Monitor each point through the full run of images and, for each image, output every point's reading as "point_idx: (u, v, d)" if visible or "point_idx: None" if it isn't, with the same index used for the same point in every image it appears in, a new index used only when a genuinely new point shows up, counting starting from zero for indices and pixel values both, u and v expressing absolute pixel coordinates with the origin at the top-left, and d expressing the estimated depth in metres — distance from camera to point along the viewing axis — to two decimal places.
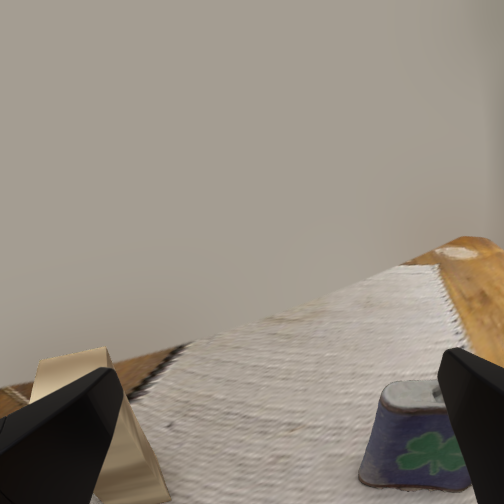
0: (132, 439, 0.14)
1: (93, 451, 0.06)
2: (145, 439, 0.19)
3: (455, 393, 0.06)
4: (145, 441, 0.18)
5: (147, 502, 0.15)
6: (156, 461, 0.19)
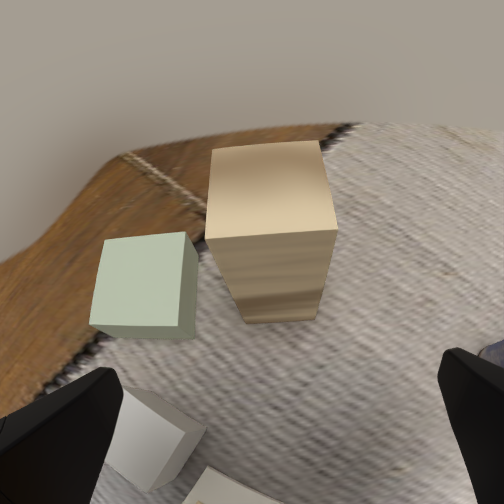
0: (327, 271, 0.14)
1: (93, 451, 0.06)
2: None
3: (455, 393, 0.06)
4: None
5: (290, 319, 0.21)
6: None
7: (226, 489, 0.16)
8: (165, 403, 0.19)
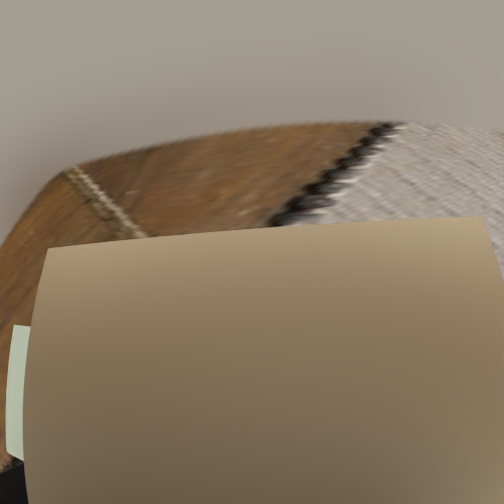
0: None
1: None
2: None
3: None
4: None
5: None
6: None
7: None
8: None
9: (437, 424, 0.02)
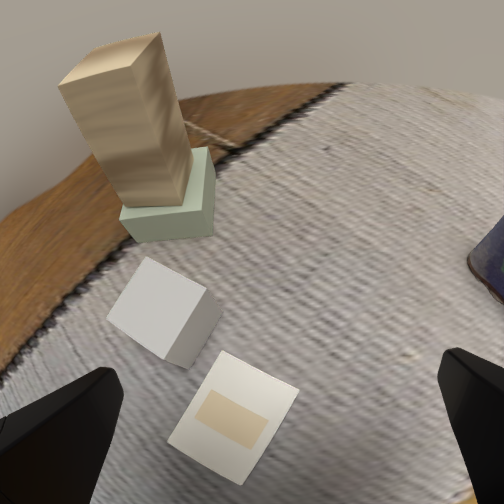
0: (149, 119, 0.15)
1: (93, 451, 0.06)
2: (183, 135, 0.22)
3: (455, 393, 0.06)
4: (181, 136, 0.21)
5: (158, 201, 0.22)
6: (188, 162, 0.24)
7: (240, 373, 0.20)
8: None
9: (133, 46, 0.14)
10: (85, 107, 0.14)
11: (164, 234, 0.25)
